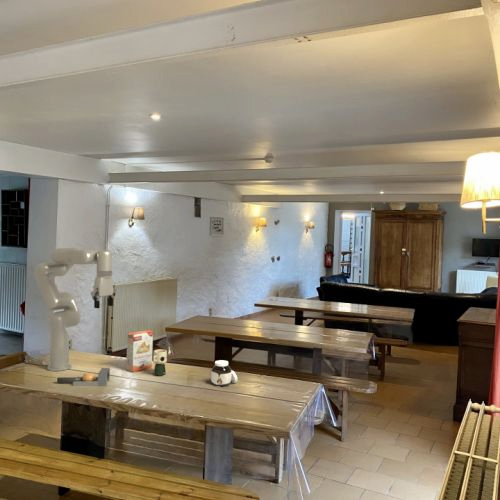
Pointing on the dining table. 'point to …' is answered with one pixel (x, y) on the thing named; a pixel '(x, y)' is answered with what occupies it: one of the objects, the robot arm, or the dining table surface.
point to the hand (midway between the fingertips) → (103, 307)
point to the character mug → (160, 361)
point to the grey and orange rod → (76, 378)
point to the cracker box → (139, 350)
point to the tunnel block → (100, 381)
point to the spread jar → (222, 374)
